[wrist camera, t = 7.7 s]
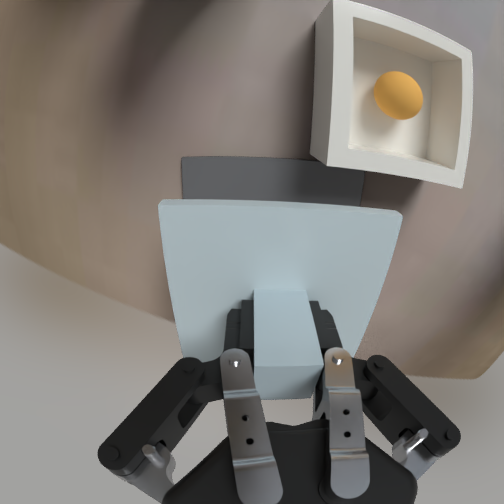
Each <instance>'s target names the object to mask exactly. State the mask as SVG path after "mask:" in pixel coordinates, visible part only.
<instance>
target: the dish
mask: <svg viewBox="0 0 504 504" xmlns="http://www.w3.org/2000/svg"><path fill="white" fill-rule="evenodd" d="M390 71H399V72H403V73H405V74H407V75H409V76H410V77H412V78H413V79H414V80H415V81H416V82H417V83H418V85H419V87H420V88H421V91H422V94H423V104H422V108H421V110H420V111H419V113H418V114H417V115H416V116H414V117H413V118H410V119H407V120H398V119H394V118H392V117H390V116H388V115H386V114H385V113H384V112H383V111H382V110H381V109H380V108H379V106H378V105H377V103H376V101H375V97H374V86H375V83H376V81H377V79H378V78H379V77H380V76H381V75H383V74H384V73H387V72H390ZM472 108H473V65H472V51H470V50H469V49H467V48H465V47H463V46H462V45H460V44H458V43H456V42H455V41H453V40H451V39H449V38H447V37H445V36H443V35H441V34H439V33H437V32H435V31H433V30H431V29H429V28H427V27H424V26H422V25H420V24H417V23H415V22H413V21H410V20H408V19H405V18H403V17H400V16H397V15H395V14H392V13H389V12H386V11H383V10H380V9H377V8H374V7H370V6H367V5H363V4H360V3H356V2H352V1H348V0H330V1H329V3H328V4H327V5H326V7H325V8H324V10H323V11H322V12H321V14H320V15H319V16H318V18H317V19H316V21H315V71H314V96H313V114H312V130H311V144H310V154H311V155H312V156H314V157H315V158H316V159H318V160H319V161H321V162H322V163H323V164H325V165H326V166H332V167H341V168H350V169H358V170H366V171H373V172H380V173H386V174H392V175H398V176H404V177H410V178H415V179H420V180H425V181H430V182H435V183H440V184H444V185H449V186H453V187H457V188H461V189H462V187H463V182H464V176H465V171H466V165H467V159H468V152H469V144H470V135H471V124H472Z"/></svg>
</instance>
